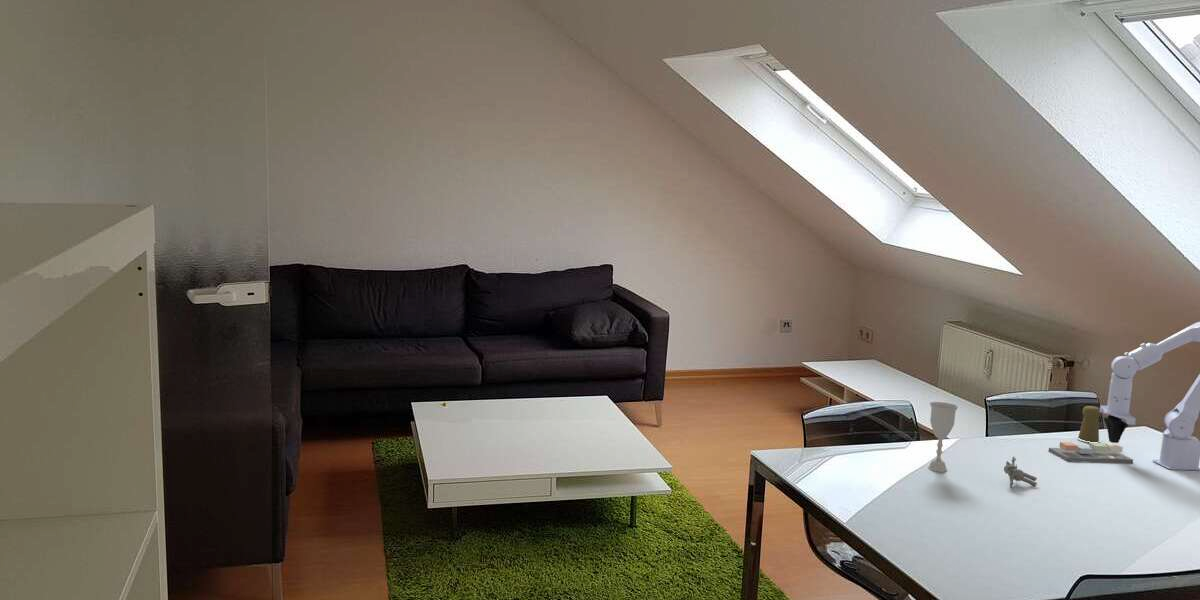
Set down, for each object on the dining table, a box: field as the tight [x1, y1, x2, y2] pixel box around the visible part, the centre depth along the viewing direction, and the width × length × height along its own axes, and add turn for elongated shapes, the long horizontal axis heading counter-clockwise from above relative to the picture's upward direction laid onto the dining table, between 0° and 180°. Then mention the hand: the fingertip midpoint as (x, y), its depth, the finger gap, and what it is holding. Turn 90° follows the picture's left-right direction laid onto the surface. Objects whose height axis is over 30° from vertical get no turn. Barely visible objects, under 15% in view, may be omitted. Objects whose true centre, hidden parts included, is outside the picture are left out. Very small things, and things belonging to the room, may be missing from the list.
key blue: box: [1076, 444, 1092, 454], centre depth 285 cm, size 3×3×2 cm
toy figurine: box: [1003, 456, 1038, 488], centre depth 255 cm, size 10×6×9 cm
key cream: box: [1104, 442, 1123, 453], centre depth 285 cm, size 3×3×2 cm
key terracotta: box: [1058, 441, 1078, 451], centre depth 285 cm, size 3×3×2 cm
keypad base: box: [1048, 447, 1134, 464], centre depth 285 cm, size 20×10×1 cm, turn 94°
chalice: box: [927, 401, 959, 473], centre depth 265 cm, size 7×7×18 cm
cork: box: [1077, 405, 1102, 442], centre depth 303 cm, size 6×6×11 cm
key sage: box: [1088, 442, 1108, 452], centre depth 285 cm, size 3×3×2 cm
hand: (1113, 442), depth 285 cm, fingers closed
